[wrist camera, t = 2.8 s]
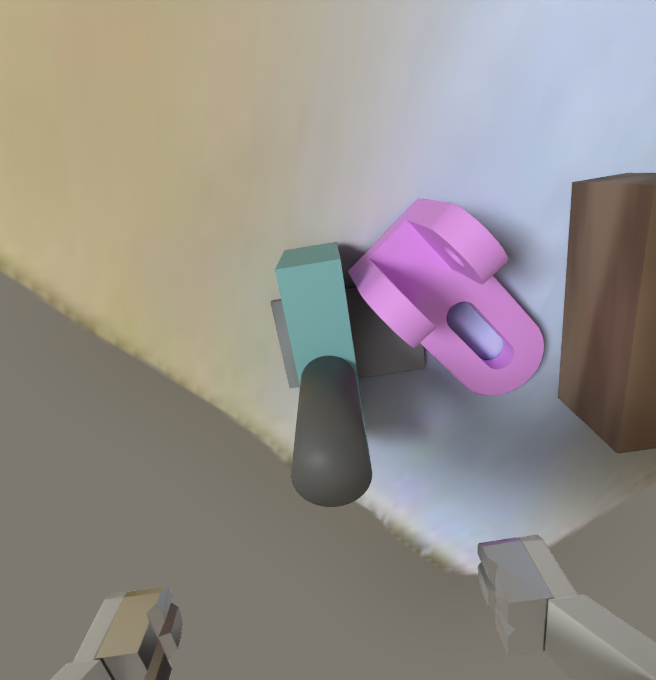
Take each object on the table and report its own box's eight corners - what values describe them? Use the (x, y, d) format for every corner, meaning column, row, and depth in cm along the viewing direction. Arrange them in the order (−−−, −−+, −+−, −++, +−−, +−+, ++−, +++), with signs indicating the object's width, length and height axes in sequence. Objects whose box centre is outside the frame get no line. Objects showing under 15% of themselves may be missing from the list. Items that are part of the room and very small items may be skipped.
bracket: (347, 271, 24) (366, 306, 17) (418, 198, 22) (467, 205, 16) (481, 400, 27) (538, 467, 21) (548, 344, 26) (629, 397, 20)
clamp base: (627, 173, 22) (728, 172, 17) (602, 391, 28) (673, 445, 22) (256, 235, 23) (236, 253, 18) (301, 434, 29) (296, 496, 23)
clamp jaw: (336, 242, 23) (350, 305, 12) (363, 420, 27) (391, 588, 16) (284, 250, 23) (249, 321, 12) (319, 426, 27) (317, 597, 16)
